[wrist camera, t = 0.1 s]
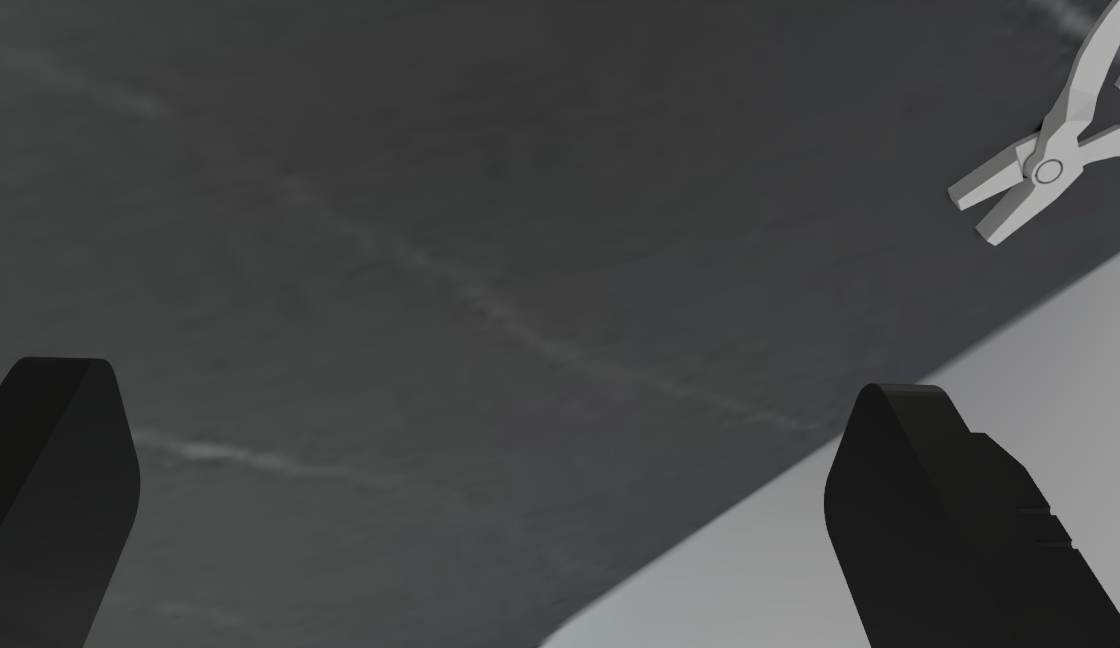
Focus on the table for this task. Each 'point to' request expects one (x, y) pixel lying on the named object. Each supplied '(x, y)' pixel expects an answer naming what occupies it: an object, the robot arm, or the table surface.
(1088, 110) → the pliers
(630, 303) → the table surface
